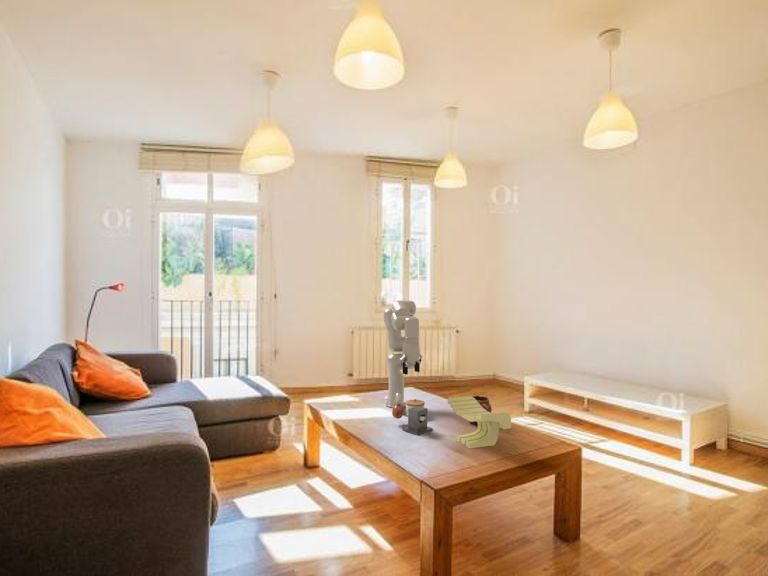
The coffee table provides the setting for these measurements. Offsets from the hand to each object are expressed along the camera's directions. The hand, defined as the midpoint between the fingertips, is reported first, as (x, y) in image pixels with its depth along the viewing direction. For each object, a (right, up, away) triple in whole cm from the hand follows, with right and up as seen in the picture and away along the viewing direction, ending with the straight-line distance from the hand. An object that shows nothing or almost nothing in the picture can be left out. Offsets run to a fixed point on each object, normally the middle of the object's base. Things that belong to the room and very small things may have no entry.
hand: (411, 372), depth 240 cm
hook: (-1, -24, -7) cm, 25 cm away
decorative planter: (+37, -28, +2) cm, 46 cm away
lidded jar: (+3, -27, +15) cm, 31 cm away
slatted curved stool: (+30, -28, -26) cm, 49 cm away
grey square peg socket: (+3, -27, -10) cm, 29 cm away
